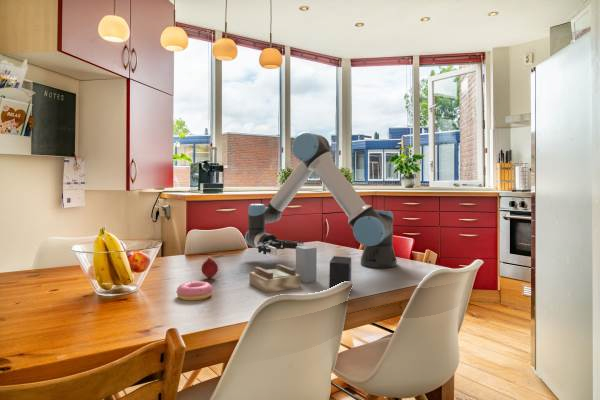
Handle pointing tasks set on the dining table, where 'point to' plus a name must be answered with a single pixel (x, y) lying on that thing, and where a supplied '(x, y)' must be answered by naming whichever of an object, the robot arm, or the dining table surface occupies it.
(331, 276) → the small box
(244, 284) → the dining table surface
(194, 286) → the doughnut
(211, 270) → the onion
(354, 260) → the dining table surface
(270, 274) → the stand
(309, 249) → the tall grey prism
